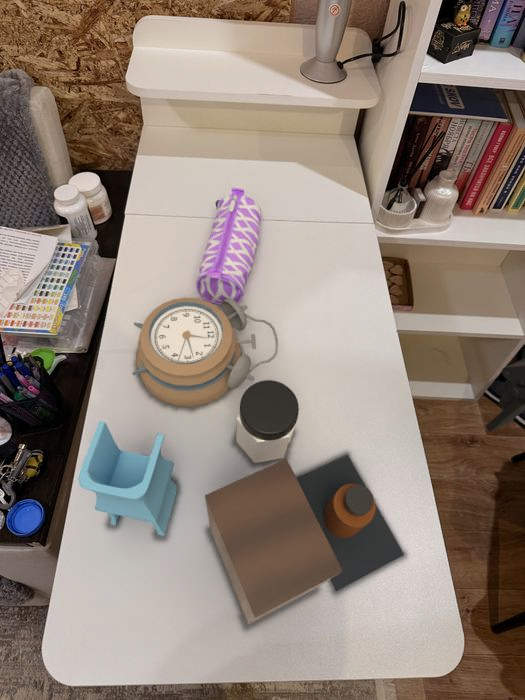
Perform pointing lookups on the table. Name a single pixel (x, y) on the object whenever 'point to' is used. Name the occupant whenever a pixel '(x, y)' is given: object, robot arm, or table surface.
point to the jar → (266, 420)
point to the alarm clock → (194, 351)
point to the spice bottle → (349, 510)
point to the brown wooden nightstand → (269, 540)
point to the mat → (366, 545)
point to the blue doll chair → (129, 480)
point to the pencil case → (230, 249)
